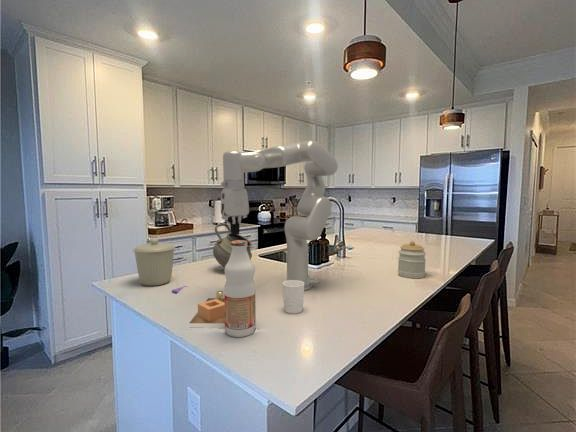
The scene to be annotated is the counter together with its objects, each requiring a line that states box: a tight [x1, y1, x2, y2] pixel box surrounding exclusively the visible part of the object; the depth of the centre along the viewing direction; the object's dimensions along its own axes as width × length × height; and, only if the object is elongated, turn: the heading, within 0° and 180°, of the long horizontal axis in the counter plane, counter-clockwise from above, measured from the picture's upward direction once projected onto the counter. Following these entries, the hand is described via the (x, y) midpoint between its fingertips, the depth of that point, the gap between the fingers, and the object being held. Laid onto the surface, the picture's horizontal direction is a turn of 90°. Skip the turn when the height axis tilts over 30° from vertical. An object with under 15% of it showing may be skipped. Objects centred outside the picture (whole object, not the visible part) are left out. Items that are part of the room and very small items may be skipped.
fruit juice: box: [223, 240, 257, 338], centre depth 98 cm, size 9×9×28 cm
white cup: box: [282, 280, 305, 314], centre depth 115 cm, size 8×8×10 cm
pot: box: [212, 222, 253, 268], centre depth 171 cm, size 21×21×25 cm
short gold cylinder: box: [216, 290, 224, 302], centre depth 117 cm, size 2×2×4 cm
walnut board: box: [189, 297, 225, 329], centre depth 112 cm, size 12×23×2 cm, turn 179°
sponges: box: [171, 285, 189, 295], centre depth 134 cm, size 7×13×2 cm, turn 55°
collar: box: [197, 299, 225, 322], centre depth 107 cm, size 7×7×4 cm
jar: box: [397, 240, 427, 279], centre depth 161 cm, size 13×13×18 cm
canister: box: [132, 237, 176, 287], centre depth 148 cm, size 18×18×21 cm
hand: (235, 234), depth 120 cm, fingers closed
